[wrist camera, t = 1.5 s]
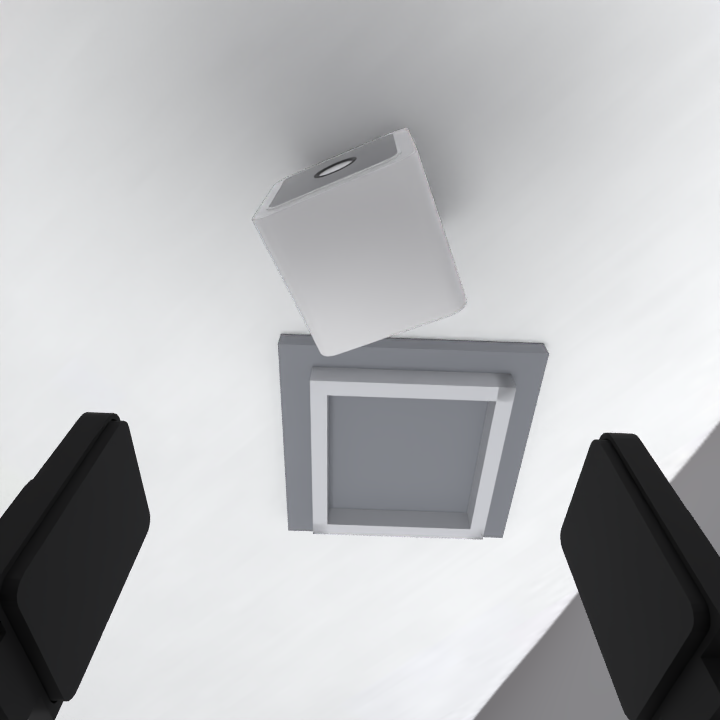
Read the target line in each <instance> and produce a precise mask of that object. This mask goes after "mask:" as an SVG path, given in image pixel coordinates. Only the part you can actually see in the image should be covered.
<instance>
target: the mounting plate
mask: <svg viewBox="0 0 720 720" xmlns="http://www.w3.org/2000/svg"><path fill="white" fill-rule="evenodd" d="M278 353H279V371H280V388H281V406H282V424H283V442H284V459H285V477H286V495H287V512H288V530H293V531H313V534H338V535H367V536H397V537H426V538H455V539H483V537H496V538H503V534H504V530H505V526H506V522H507V518H508V514H509V510H510V506H511V502H512V498H513V494H514V490H515V486H516V482H517V478H518V474H519V470H520V466H521V463H522V459H523V455H524V451H525V447H526V443H527V439H528V435H529V431H530V427H531V423H532V419H533V415H534V411H535V407H536V403H537V399H538V395H539V391H540V387H541V383H542V379H543V375H544V371H545V367H546V363H547V360H548V356H549V353H548V351H547V349H546V348H545V346H544V344H538V343H510V342H482V341H454V340H425V339H397V338H384V339H381V340H378V341H375V342H373V343H370V344H367V345H364V346H361V347H358V348H355V349H352V350H349V351H346V352H344V353H341V354H338V355H334V356H323V355H322V354H321V353H320V351H319V349H318V347H317V345H316V343H315V341H314V339H313V337H312V336H311V335H284V334H281V336H280V339H279V342H278Z"/></svg>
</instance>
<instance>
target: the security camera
mask: <svg viewBox="0 0 720 720" xmlns="http://www.w3.org/2000/svg"><path fill="white" fill-rule="evenodd" d="M252 221H253V223H254V225H255V226H256V228H257V230H258V232H259V234H260V236H261V238H262V240H263V242H264V244H265V246H266V248H267V250H268V252H269V254H270V256H271V258H272V260H273V262H274V263H275V265H276V267H277V269H278V271H279V273H280V275H281V277H282V279H283V281H284V283H285V285H286V287H287V289H288V291H289V293H290V295H291V297H292V299H293V300H294V302H295V304H296V306H297V308H298V310H299V312H300V314H301V316H302V318H303V320H304V322H305V324H306V326H307V328H308V330H309V332H310V334H311V336H312V337H313V339H314V341H315V343H316V345H317V347H318V349H319V351H320V353H321V354H322V355H323V356H334V355H338V354H341V353H344V352H346V351H349V350H352V349H355V348H358V347H361V346H364V345H367V344H370V343H373V342H375V341H378V340H381V339H384V338H387V337H390V336H393V335H396V334H399V333H402V332H405V331H407V330H410V329H413V328H416V327H419V326H422V325H425V324H428V323H431V322H434V321H436V320H439V319H442V318H445V317H448V316H451V315H453V314H455V313H457V312H459V311H460V310H462V309H463V308H464V307H465V305H466V303H467V299H466V296H465V293H464V290H463V287H462V284H461V281H460V277H459V274H458V271H457V268H456V265H455V262H454V259H453V256H452V253H451V250H450V247H449V244H448V241H447V238H446V235H445V232H444V229H443V226H442V223H441V220H440V217H439V214H438V211H437V208H436V205H435V202H434V199H433V196H432V193H431V189H430V186H429V183H428V180H427V177H426V174H425V171H424V168H423V165H422V162H421V159H420V156H419V153H418V150H417V148H416V145H415V143H414V141H413V138H412V136H411V134H410V131H409V129H407V128H403V129H399V130H397V131H394V132H391V133H389V134H387V135H384V136H382V137H380V138H377V139H375V140H373V141H370V142H368V143H366V144H363V145H361V146H359V147H356V148H354V149H352V150H349V151H347V152H345V153H342V154H340V155H338V156H335V157H333V158H331V159H328V160H326V161H324V162H321V163H319V164H317V165H314V166H312V167H310V168H307V169H305V170H303V171H300V172H298V173H296V174H293V175H291V176H289V177H287V178H285V179H283V180H281V181H279V182H278V183H276V184H275V185H274V186H273V187H272V189H271V190H270V192H269V193H268V195H267V196H266V198H265V199H264V201H263V202H262V204H261V206H260V207H259V209H258V210H257V212H256V213H255V215H254V216H253V218H252Z"/></svg>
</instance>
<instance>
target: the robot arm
mask: <svg viewBox="0 0 720 720" xmlns="http://www.w3.org/2000/svg"><path fill="white" fill-rule="evenodd" d="M149 525H150V512H149V508H148V504H147V500H146V496H145V492H144V488H143V483H142V479H141V475H140V471H139V467H138V463H137V459H136V455H135V450H134V446H133V442H132V438H131V434H130V430H129V426H128V423H127V422H126V421H120V418H119V416H118V415H117V414H114V413H94V412H86V413H84V414H83V415H82V416H80V418H79V419H78V420H77V422H76V423H75V424H74V426H73V427H72V428H71V430H70V431H69V432H68V434H67V435H66V436H65V438H64V439H63V440H62V442H61V443H60V444H59V446H58V447H57V448H56V449H55V451H54V452H53V453H52V455H51V456H50V457H49V459H48V460H47V461H46V463H45V464H44V465H43V467H42V468H41V469H40V471H39V472H38V473H37V475H36V476H35V477H34V479H32V480H30V481H29V482H28V484H27V485H26V486H25V487H24V488H23V489H22V490H21V492H20V493H19V494H18V496H17V497H16V498H15V500H14V501H13V502H12V504H11V505H10V506H9V507H8V509H7V510H6V511H5V513H4V514H3V515H2V517H1V518H0V720H55V718H56V716H57V714H58V712H59V710H60V707H61V705H62V703H63V701H69V700H71V699H72V698H73V696H74V695H75V693H76V691H77V689H78V687H79V685H80V683H81V681H82V678H83V676H84V674H85V672H86V669H87V667H88V665H89V663H90V660H91V658H92V656H93V654H94V651H95V649H96V647H97V645H98V642H99V640H100V638H101V636H102V633H103V631H104V629H105V627H106V624H107V622H108V620H109V618H110V615H111V613H112V611H113V609H114V606H115V604H116V602H117V600H118V597H119V595H120V593H121V591H122V588H123V586H124V584H125V582H126V579H127V577H128V575H129V573H130V570H131V568H132V566H133V564H134V562H135V559H136V557H137V555H138V553H139V550H140V548H141V546H142V544H143V541H144V539H145V537H146V535H147V532H148V529H149ZM560 539H561V546H562V549H563V552H564V554H565V557H566V560H567V562H568V565H569V568H570V570H571V573H572V576H573V578H574V581H575V584H576V586H577V589H578V592H579V594H580V597H581V600H582V602H583V605H584V607H585V610H586V613H587V615H588V618H589V621H590V623H591V626H592V629H593V631H594V634H595V637H596V639H597V642H598V645H599V647H600V650H601V653H602V655H603V658H604V661H605V663H606V666H607V668H608V671H609V674H610V676H611V679H612V682H613V684H614V687H615V690H616V692H617V695H618V698H619V700H620V703H621V706H622V708H623V710H624V713H625V715H626V716H627V717H628V719H629V720H720V557H719V555H718V554H717V552H716V551H715V550H714V548H713V547H712V545H711V544H710V542H709V540H708V539H707V537H706V536H705V535H704V533H703V532H702V530H701V529H700V527H699V526H698V524H697V523H696V521H695V520H694V518H693V517H692V515H691V514H690V512H689V511H688V510H687V509H686V507H685V506H684V504H683V503H682V501H681V500H680V498H679V497H678V495H677V494H676V492H675V491H674V489H673V488H672V486H671V485H670V483H669V482H668V480H667V479H666V477H665V476H664V474H663V473H662V471H661V470H660V468H659V467H658V465H657V464H656V462H655V461H654V459H653V458H652V456H651V455H650V454H649V452H648V451H647V449H646V448H645V446H644V445H643V443H642V442H641V440H640V439H639V438H638V436H637V435H635V434H626V433H603V434H602V435H601V437H600V439H599V440H593V441H592V443H591V445H590V448H589V451H588V453H587V456H586V459H585V462H584V465H583V468H582V471H581V474H580V476H579V479H578V482H577V485H576V488H575V491H574V494H573V497H572V500H571V502H570V505H569V508H568V511H567V514H566V517H565V520H564V523H563V525H562V528H561V534H560Z"/></svg>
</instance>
